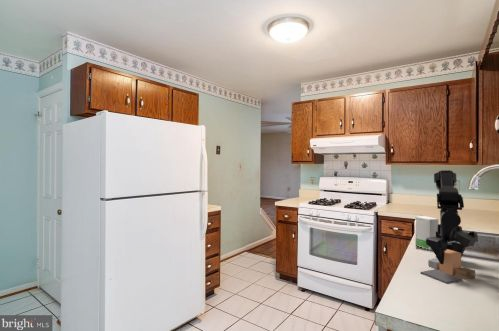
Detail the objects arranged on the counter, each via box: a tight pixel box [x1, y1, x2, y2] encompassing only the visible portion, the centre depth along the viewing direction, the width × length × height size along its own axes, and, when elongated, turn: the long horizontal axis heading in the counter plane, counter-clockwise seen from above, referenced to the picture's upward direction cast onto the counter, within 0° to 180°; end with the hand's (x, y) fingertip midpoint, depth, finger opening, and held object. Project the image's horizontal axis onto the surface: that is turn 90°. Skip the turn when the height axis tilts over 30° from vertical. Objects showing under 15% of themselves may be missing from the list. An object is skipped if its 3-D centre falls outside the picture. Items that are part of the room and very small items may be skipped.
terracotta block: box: [438, 249, 463, 276], centre depth 105 cm, size 5×5×8 cm
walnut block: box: [455, 267, 476, 281], centre depth 100 cm, size 5×4×3 cm
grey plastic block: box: [427, 258, 440, 270], centre depth 110 cm, size 5×4×3 cm
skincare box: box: [414, 215, 440, 251], centre depth 138 cm, size 8×7×16 cm
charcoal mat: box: [420, 269, 463, 284], centre depth 101 cm, size 8×10×1 cm
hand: (450, 262), depth 105 cm, fingers open, 9 cm apart
